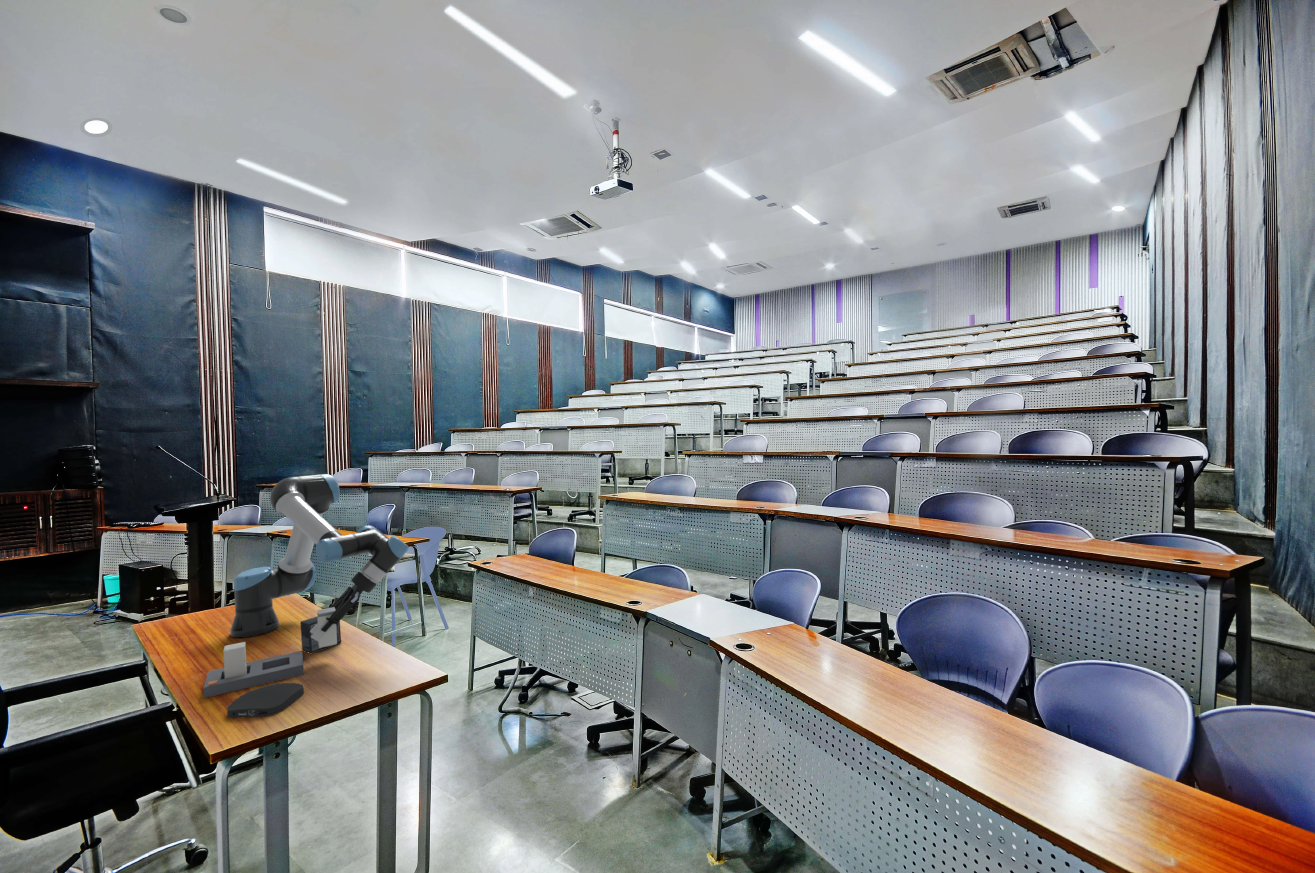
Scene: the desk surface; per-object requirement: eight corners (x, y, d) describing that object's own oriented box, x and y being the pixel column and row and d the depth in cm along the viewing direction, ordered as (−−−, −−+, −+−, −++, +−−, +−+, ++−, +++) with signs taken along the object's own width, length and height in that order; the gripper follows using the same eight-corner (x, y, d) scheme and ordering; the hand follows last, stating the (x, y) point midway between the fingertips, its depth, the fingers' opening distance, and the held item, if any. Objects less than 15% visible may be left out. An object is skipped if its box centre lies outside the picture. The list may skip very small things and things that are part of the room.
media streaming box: (309, 690, 159) (309, 680, 159) (276, 717, 144) (276, 705, 144) (258, 693, 158) (258, 683, 158) (220, 720, 144) (219, 709, 144)
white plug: (318, 643, 181) (317, 610, 180) (335, 639, 183) (334, 606, 183) (319, 647, 176) (317, 614, 176) (337, 643, 179) (335, 610, 179)
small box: (332, 640, 198) (330, 611, 198) (342, 643, 195) (340, 613, 195) (300, 650, 189) (299, 620, 189) (310, 654, 186) (309, 623, 185)
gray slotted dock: (209, 680, 167) (207, 644, 167) (302, 659, 181) (300, 626, 181) (203, 698, 156) (202, 659, 156) (303, 674, 169) (302, 638, 169)
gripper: (381, 589, 181) (325, 651, 172) (373, 577, 196) (321, 634, 187) (362, 576, 178) (304, 638, 169) (356, 565, 193) (302, 622, 184)
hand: (313, 636), depth 178 cm, fingers closed on white plug, 5 cm apart
